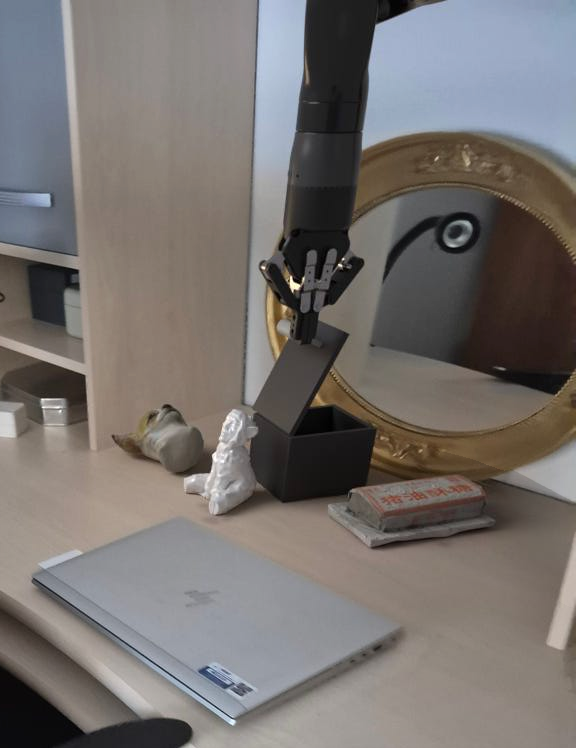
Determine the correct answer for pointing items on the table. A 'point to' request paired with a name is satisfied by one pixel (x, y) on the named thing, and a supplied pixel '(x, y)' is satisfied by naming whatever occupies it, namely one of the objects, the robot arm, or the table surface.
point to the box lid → (298, 376)
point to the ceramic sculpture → (164, 439)
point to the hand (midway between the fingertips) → (301, 343)
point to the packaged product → (413, 509)
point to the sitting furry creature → (228, 467)
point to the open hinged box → (313, 454)
